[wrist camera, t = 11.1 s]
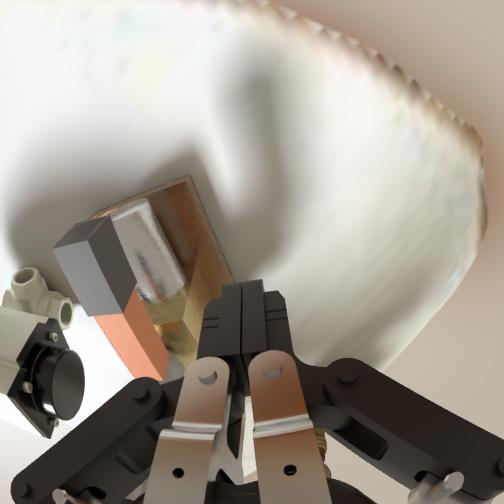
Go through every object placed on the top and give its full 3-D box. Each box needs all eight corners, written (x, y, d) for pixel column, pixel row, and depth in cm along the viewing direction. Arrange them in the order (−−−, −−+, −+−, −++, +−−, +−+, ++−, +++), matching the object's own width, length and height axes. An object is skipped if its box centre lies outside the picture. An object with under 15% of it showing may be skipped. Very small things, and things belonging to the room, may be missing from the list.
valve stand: (261, 341, 34) (264, 415, 25) (182, 356, 35) (170, 425, 27) (190, 175, 24) (159, 228, 15) (93, 213, 25) (39, 273, 17)
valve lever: (190, 375, 22) (186, 405, 19) (153, 376, 22) (146, 405, 19) (115, 213, 15) (94, 238, 12) (70, 225, 15) (46, 250, 13)
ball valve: (97, 269, 28) (19, 416, 13) (112, 328, 33) (65, 461, 17) (-13, 256, 27) (-91, 351, 12) (7, 307, 32) (-51, 402, 16)
